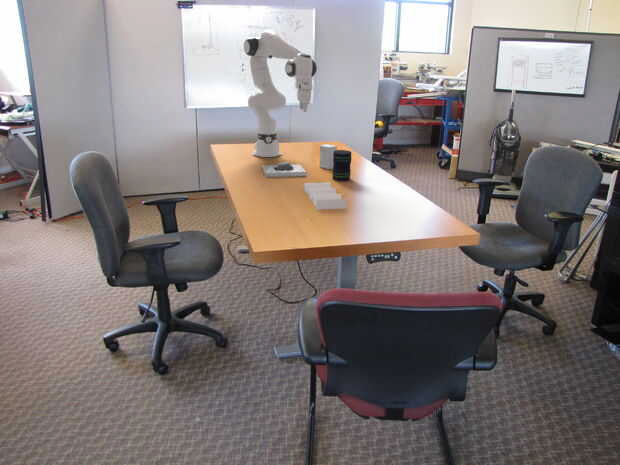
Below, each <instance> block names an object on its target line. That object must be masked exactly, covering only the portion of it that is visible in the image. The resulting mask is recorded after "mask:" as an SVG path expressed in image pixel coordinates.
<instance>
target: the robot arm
mask: <svg viewBox="0 0 620 465" xmlns="http://www.w3.org/2000/svg"><path fill="white" fill-rule="evenodd" d="M243 49H244V53H245V54H246V55H247V56H249V57H250V58H249V64H250V65H249V66H250V67H249V68H250V72H251V75H252V77H251V78H252V80H253V85H254V87H256V88H257V89H259V90H260V93H259V92H258V93H253V94H251V95H249V97H248V99H247V105H248V106H247V107H248V108H249V109H250V111H252V112H253V113H254V114H255V117H256V119H257V124H258V125H257V126H258V134H257V141H256V143H254V148H255V149H254V150H253V152H252V155H253V156H256V157H261V158H273V157H274V158H275V157H278V156H282V155H283V153H282V152H280V142H279V141H278V135H277V134H278V133H277V121H276V120H275V118H274V117H272V116H271V115H270V112H272V111H273V112H274V111H280V110H283V109H284V108H286V104H287V100H286V97H285V95H284V94H283V93H282V92H280V90H278V89H277V87H276V86H275V85H274V82H273V80H272V76H271V73H270V69H269V64H268V59H270V60H271V59H272V58H275V59H283V60H287V62H286V63H285V67H284V68H285V73H286V75H287V77H289V78H295V88H296V89H297V94H296V95H297V96H296V98H297V101H299V110H302V112H304V113H306V112H307V111H308V105H310V104H311V99H312V98H311V97H312V90H313V77H314V76H315V75H316V73H317V70H318V66H317V63H316V62H315V60H314V59H312V56H311V55H310V54H308V53H302V52H301V51H299V50H298V49H297V48H295V47H293V45H290V44H289V43H288V42H286V41H285V40H284V39H283V38H282V37H281V36H279V34H278V33H276V32H275V31H273V30H271V29H267V30H264V31H263V32H262V33H261V35H260V37H259V36H256V37H255V36H253V37H252V36H251V37H249V38H247V39H245V41H244V43H243Z"/></svg>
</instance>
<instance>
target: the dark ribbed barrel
mask: <svg viewBox="0 0 620 465" xmlns="http://www.w3.org/2000/svg"><path fill="white" fill-rule="evenodd" d="M333 162H334V164H333V169H332V177H331V178H332V180H333V181H335V182H349V181H351V175H352V174H351V163H352V151H350V150H346V149H337V150H336V151H334V154H333Z"/></svg>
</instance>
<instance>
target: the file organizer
mask: <svg viewBox="0 0 620 465" xmlns="http://www.w3.org/2000/svg"><path fill="white" fill-rule="evenodd" d="M302 190H303V191H304V192H305V194H306V193H307V194H306V196H307V197H308V198H309V200H310V202H312V204H313V206H314V208H315V209H316V210H340V209H341V210H342V209H346V206H347V198H342V194H341V193H337V190H336V187H332V184H331V182H329V181H328V182H308V183H307V182H305V183H304V184H303V187H302Z"/></svg>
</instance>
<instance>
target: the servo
mask: <svg viewBox="0 0 620 465" xmlns="http://www.w3.org/2000/svg"><path fill="white" fill-rule="evenodd" d="M274 165H275V167H276V168H277V170H290V167H293V166H292V165H293V164H291V163H290V162H289V161H286V162H277V163H276V164H274Z"/></svg>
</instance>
